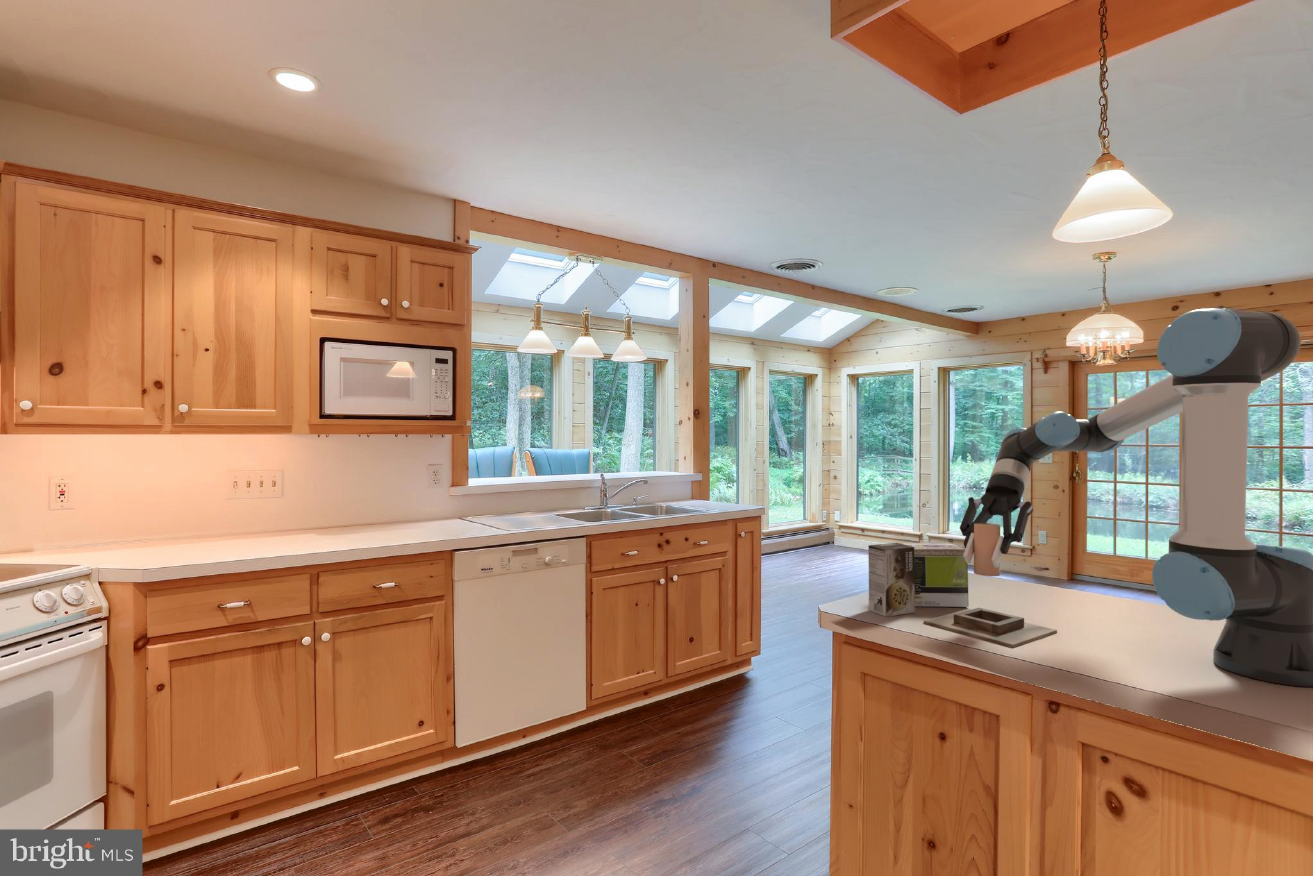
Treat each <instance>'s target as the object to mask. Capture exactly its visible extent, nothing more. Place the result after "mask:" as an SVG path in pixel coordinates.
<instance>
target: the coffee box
mask: <svg viewBox="0 0 1313 876" xmlns="http://www.w3.org/2000/svg"><path fill="white" fill-rule="evenodd" d="M900 543H901V542H893V543H892V542H890V543H880V544H871V545H870V544H869V545H868V611H870V612H871V613H872V612H873V613H875V614H878V615H880V616H883V617H894V616H900V615H907V614H914V613H916V606H915V560H914V547H912V546H908V545H905V544H900Z"/></svg>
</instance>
